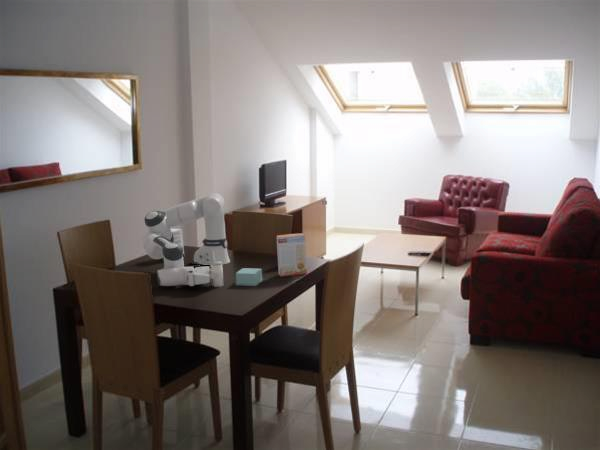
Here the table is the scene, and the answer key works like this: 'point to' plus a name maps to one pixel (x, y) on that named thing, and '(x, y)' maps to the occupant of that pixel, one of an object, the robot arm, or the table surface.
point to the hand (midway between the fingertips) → (219, 273)
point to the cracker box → (291, 254)
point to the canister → (217, 268)
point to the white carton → (178, 237)
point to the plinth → (249, 277)
